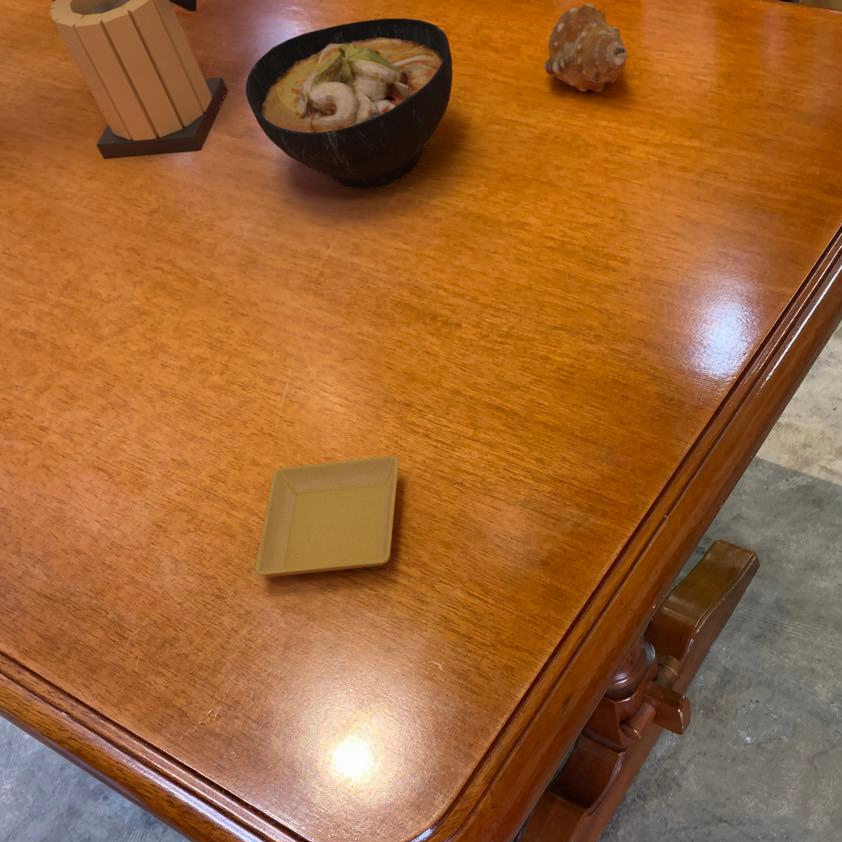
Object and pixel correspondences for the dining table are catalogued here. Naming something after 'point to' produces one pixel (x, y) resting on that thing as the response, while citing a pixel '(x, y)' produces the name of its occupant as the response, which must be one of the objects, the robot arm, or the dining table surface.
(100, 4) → the metal peg stand
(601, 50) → the seashell
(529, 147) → the dining table surface
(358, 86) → the bowl
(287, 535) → the saucer
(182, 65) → the slatted pencil cup
